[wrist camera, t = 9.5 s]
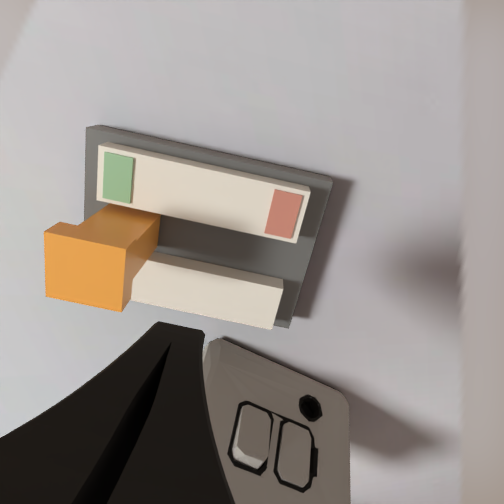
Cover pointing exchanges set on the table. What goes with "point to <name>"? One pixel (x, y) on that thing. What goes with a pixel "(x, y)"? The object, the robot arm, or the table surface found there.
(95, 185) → the breaker base
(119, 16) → the table surface
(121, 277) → the breaker handle
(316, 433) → the electrical switch
